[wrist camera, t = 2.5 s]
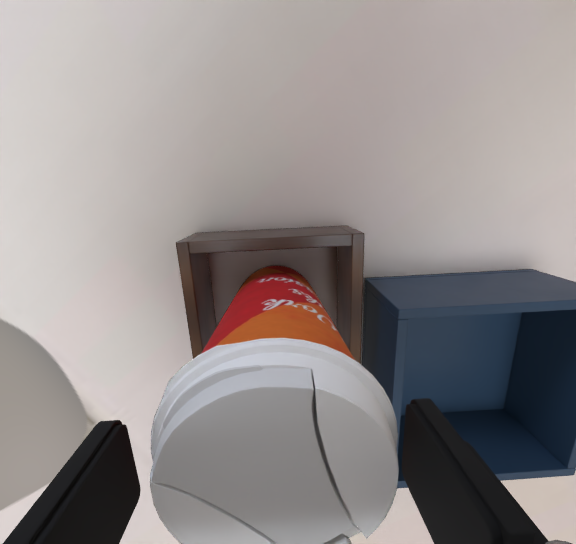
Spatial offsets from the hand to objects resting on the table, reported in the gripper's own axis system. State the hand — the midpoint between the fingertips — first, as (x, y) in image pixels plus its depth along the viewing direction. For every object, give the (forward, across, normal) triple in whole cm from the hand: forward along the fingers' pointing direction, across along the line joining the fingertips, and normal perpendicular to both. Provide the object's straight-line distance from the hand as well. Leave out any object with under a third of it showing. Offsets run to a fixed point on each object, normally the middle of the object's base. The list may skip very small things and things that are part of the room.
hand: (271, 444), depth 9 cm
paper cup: (+12, 0, -1) cm, 12 cm away
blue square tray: (+12, -13, +4) cm, 19 cm away
